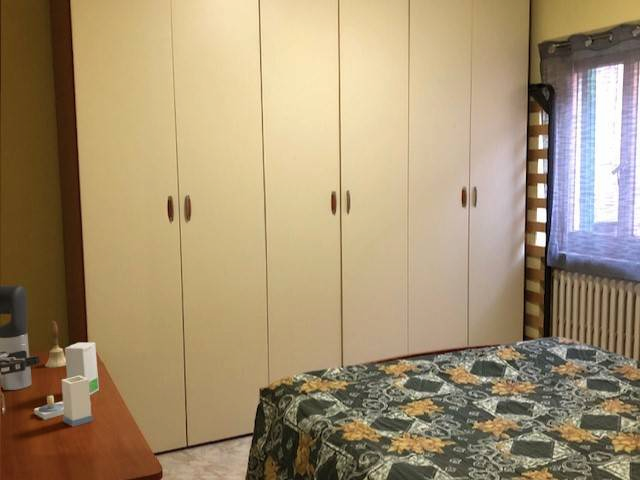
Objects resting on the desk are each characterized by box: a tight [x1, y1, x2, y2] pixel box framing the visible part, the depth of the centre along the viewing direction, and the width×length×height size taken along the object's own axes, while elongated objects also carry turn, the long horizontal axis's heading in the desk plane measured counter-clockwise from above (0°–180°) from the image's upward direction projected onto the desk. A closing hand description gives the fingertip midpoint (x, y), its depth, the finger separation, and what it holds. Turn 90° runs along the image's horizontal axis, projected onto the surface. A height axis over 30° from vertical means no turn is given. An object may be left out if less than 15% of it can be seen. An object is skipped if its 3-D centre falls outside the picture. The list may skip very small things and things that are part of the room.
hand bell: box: [44, 320, 66, 369], centre depth 257 cm, size 8×8×16 cm
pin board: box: [33, 395, 92, 420], centre depth 209 cm, size 14×7×5 cm, turn 134°
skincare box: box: [64, 342, 100, 396], centre depth 223 cm, size 8×7×16 cm
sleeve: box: [61, 375, 94, 428], centre depth 199 cm, size 6×6×12 cm
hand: (32, 356), depth 190 cm, fingers open, 8 cm apart
